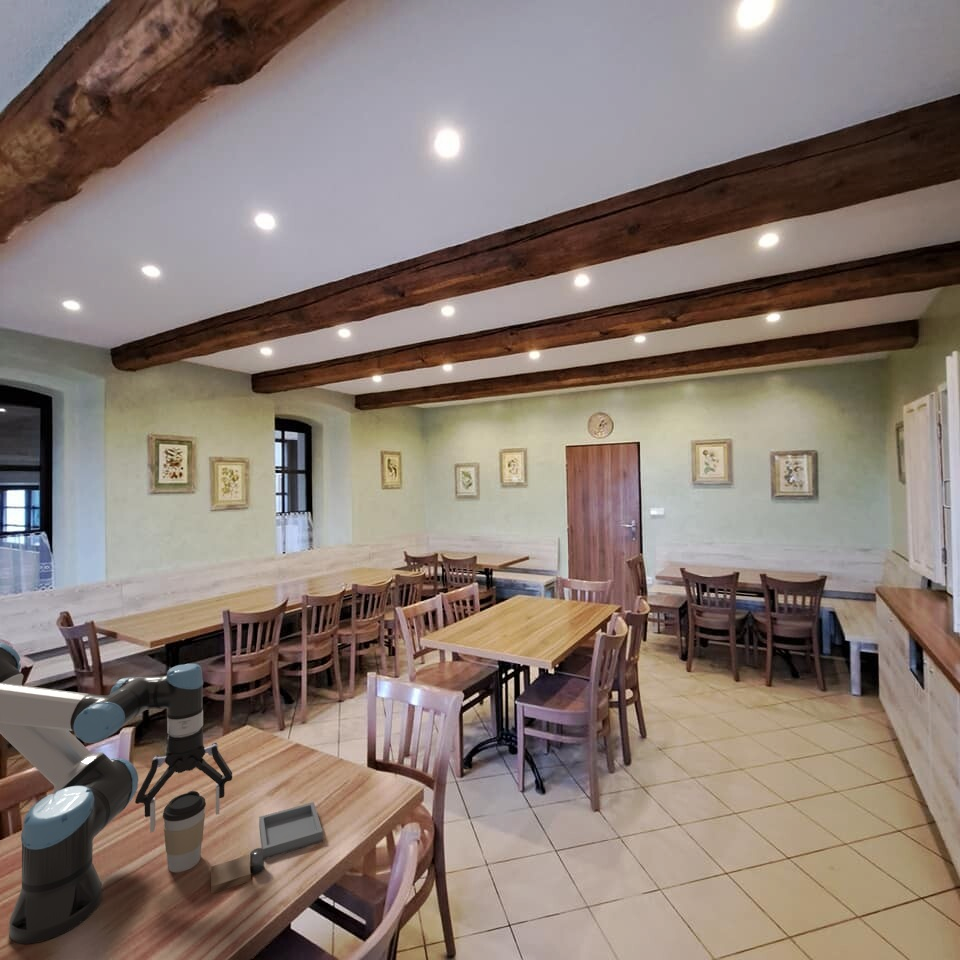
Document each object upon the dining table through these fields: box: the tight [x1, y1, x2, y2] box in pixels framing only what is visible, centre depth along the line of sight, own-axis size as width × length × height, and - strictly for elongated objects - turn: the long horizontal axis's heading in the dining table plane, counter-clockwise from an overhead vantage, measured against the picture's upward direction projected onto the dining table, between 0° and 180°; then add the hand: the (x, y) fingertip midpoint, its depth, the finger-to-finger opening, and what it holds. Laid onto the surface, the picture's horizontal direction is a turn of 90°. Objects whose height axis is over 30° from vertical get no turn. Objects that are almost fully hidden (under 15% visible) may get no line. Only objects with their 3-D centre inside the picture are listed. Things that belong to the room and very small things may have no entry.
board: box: [210, 854, 252, 894], centre depth 118 cm, size 8×7×2 cm
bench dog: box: [249, 847, 265, 875], centre depth 120 cm, size 3×3×4 cm
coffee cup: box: [162, 790, 207, 873], centre depth 123 cm, size 9×9×15 cm
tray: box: [258, 801, 324, 860], centre depth 133 cm, size 14×14×2 cm
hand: (186, 820), depth 123 cm, fingers open, 13 cm apart
